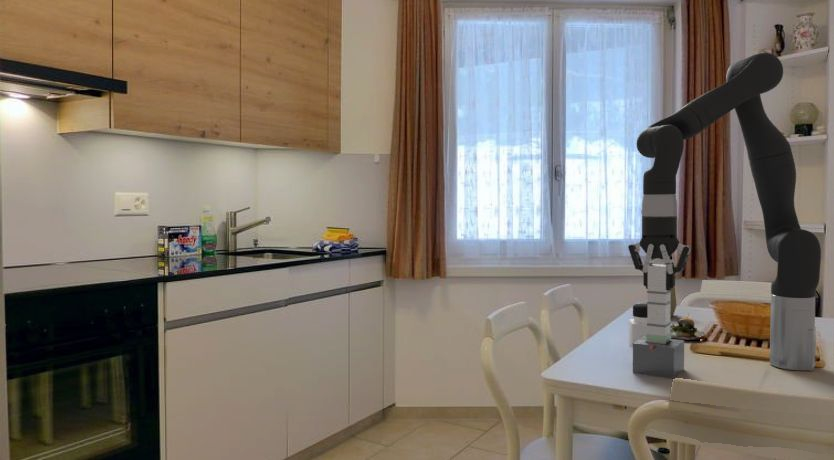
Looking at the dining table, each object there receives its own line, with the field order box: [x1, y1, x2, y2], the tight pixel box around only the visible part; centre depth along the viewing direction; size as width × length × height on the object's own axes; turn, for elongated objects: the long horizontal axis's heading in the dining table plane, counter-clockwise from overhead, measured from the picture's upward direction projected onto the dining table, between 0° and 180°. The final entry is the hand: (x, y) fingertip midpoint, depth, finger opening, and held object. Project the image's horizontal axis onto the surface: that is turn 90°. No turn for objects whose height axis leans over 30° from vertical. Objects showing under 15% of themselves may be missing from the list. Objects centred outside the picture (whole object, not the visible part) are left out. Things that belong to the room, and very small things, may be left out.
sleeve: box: [632, 336, 685, 380], centre depth 148 cm, size 16×16×8 cm
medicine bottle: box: [628, 302, 648, 348], centre depth 176 cm, size 7×7×12 cm
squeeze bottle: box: [661, 262, 678, 317], centre depth 220 cm, size 8×8×18 cm
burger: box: [670, 314, 707, 341], centre depth 187 cm, size 12×12×8 cm
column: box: [646, 263, 672, 345], centre depth 148 cm, size 4×4×18 cm
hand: (659, 288), depth 148 cm, fingers closed on column, 4 cm apart
